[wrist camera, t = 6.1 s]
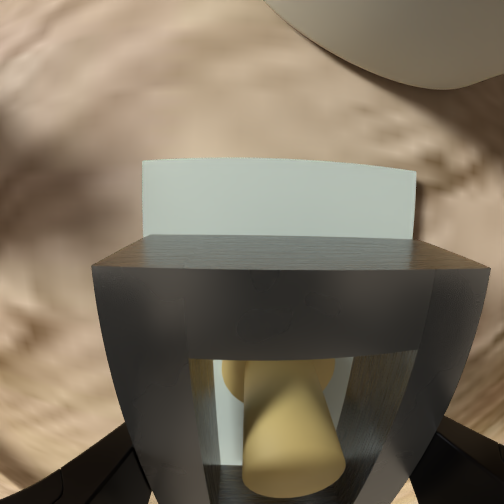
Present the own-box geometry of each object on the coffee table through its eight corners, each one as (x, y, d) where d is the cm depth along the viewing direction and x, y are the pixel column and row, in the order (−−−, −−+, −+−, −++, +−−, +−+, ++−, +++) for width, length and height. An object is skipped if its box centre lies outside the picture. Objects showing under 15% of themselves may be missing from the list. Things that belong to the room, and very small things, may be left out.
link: (354, 475, 9) (371, 527, 6) (186, 480, 9) (176, 537, 6) (418, 239, 7) (490, 268, 4) (149, 234, 7) (91, 265, 4)
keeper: (350, 450, 13) (378, 537, 7) (181, 453, 13) (161, 545, 7) (402, 171, 10) (525, 171, 4) (152, 162, 10) (45, 143, 4)
